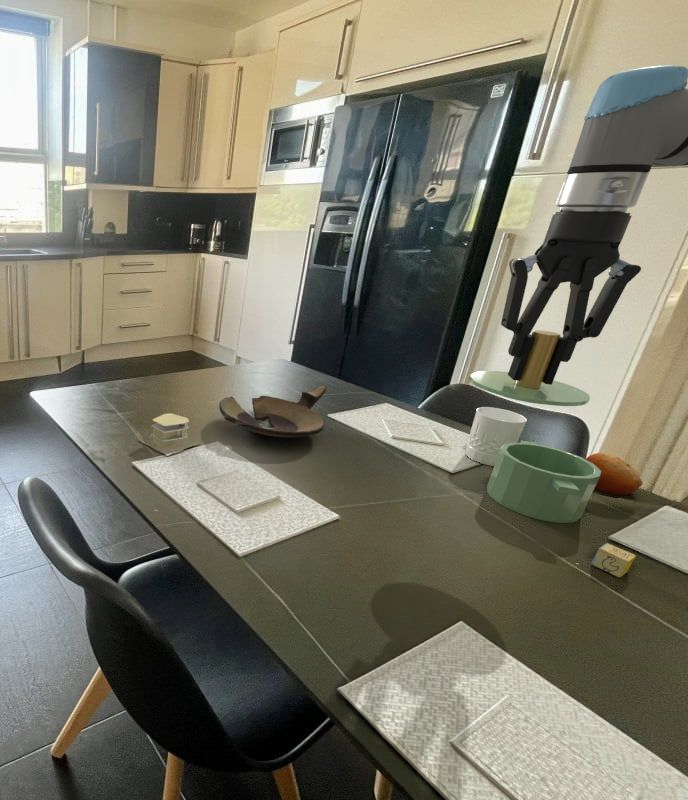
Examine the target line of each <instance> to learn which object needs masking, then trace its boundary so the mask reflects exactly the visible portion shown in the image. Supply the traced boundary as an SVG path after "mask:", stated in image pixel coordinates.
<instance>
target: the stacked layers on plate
mask: <svg viewBox="0 0 688 800" xmlns="http://www.w3.org/2000/svg"><path fill="white" fill-rule="evenodd" d="M151 421H153V422H155V423H153V424H151V427H152V429H153V430H152V432H151V433H150V436H153V443H155V444H157V445H158V446H160V447H162V448H165V447H167V446H170V445H173V444H175V441H176V440H177V439H183V438H188V432H187V430H188V429H189V425H188V423H190V420H189V418H188V417H185V416H181V415H179V414H175V413H170V412H169V413H163V414H161V415H159V416H157V417H155V418H153V419H151Z"/></svg>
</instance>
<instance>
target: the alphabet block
mask: <svg viewBox="0 0 688 800" xmlns="http://www.w3.org/2000/svg"><path fill="white" fill-rule="evenodd" d="M636 557H637V555H636V554H634V553H632V552H630V551H626V550H624V549H622V548H619V547H617V546H615V545H613V544H610V543H608V542H606V543H605V544H603V545H602V546H601V547H599V548H598V550H597V552H596V554H595V555H594V557H593V559H592V561H591V563H590V564H591V566H594V567H595V568H598V569H600V570H602V571H604V572H606V573H608V574H610V575H612V576H615V577H617V578H619V579H620V578H622V577H623V576H625V574H627V573H628V571H629V570H630V568H631V566H632V564H633V563H634V561H635V559H636Z"/></svg>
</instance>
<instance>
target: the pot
mask: <svg viewBox="0 0 688 800" xmlns="http://www.w3.org/2000/svg"><path fill="white" fill-rule="evenodd" d="M585 459H586V458H584V457H581V456H580V455H577V454H574V453H571V452H568V451H566V450H564V449H563V450H562V449H560V448H556V447H552V446H547V445H543V444H538V442H533V441H529V440H528V441H527V440H520V442H517V443H515V442H512V443H508V444H503V446H502V447H501V449H500V452H499V455H498V458H497V460H496V463H495V466H493V468H492V471H491V474H490V477H489V480H488V483H487V485H486V492H487V494H488V496H489V497H490V498H491V499H492V500H493V501H495V502H496V503H498V504H500V505H501V506H503V507H504V508H507V509H509V510H511V511H513V512H515V513H518V514H519V515H523V516H526V517H529V518H532V519H536V520H540V521H544V522H549V523H555V524H572V523H576V522H578V521H579V520H580V519H581V518H582V516H583V515H584V512H585V510H586V508H587V506H588V504H589V502H590V499H591V497H592V495H593V492H594V491H595V490H594V488H595V486H596V484H597V482H598V480H599V478H600V474H601V470H600V469H599V468H598V467H596V466H595V465H594V464H593V463H591V462H589V461H587V460H585Z"/></svg>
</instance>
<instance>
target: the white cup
mask: <svg viewBox="0 0 688 800" xmlns="http://www.w3.org/2000/svg"><path fill="white" fill-rule="evenodd" d="M527 421H528V418H526V417H525V416H523V415H522V414H520V413H517V412H515V411H512V410H509V409H503V408H499V407H491V406H481V407H478V408H476V410H475V414H474V417H473V421H472V424H471V428H470V432H469V433H470V434H469V436H468V443H467V445H466V450H465V453H466V454H465V455H466V457H467V456H468V457H469V458H468V457H467V458H468V459H470V458H471V459H470V460H472V461H473V460H475V461H474V462H476V461H477V462H476V463H479V462H480V463H479V464H482V465H486V466H491V467H494V466H495V463H496V460H497V458H498V455H499V452H500V449H501V447H502V446H503V444H508V443H512V442H515V443H518V441H519V440H520V437H521V435H522V432H523V430H524V428H525V426H526V423H527Z"/></svg>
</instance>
